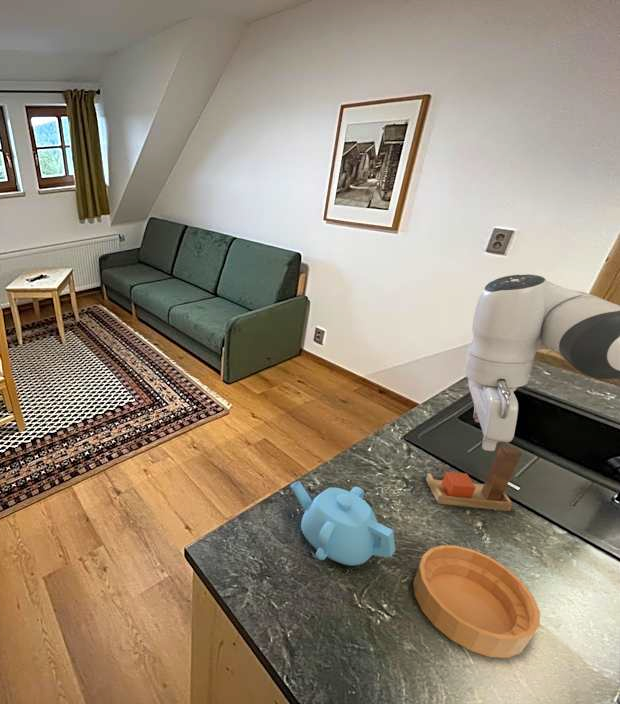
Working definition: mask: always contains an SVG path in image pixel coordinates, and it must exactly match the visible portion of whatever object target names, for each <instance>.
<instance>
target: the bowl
mask: <svg viewBox="0 0 620 704" xmlns="http://www.w3.org/2000/svg"><path fill="white" fill-rule="evenodd" d="M412 586H413V591H414V597H415V599H416V601H417V603H418V605H419V607H420V610H421V611H422V613H423V614H424V615H425V616H426V617H427V619H428V620H429V621H430V623H432V625H433V626H434V627H435V628H436V629H437V630H439V632H441V633H442V634H443V635H445V636H446V637H447V638H448V639H449V640H451V641H453V642H455V643H456V644H458V645H460V646H461V647H463V648H465V649H466V650H468V651H470V652H473V653H476V654H478V655H482V656H485V657H488V658H499V659H500V658H501V659H509V658H511V657H514V656H516V655H519V654H521V653H522V652H523V651H524V650H525V648H526V647H527V645H529V643H530V641H531V639H532V638H533V637H534V635H535V634H536V632H537V630H538V629H539V627H540V625H541V624H540V623H541V612H540V611H541V610H540V609H539V606H538V604H537V602H536V598H535V596H534V595H533V593H532V592H531V591H530V590H529V589H528V587H527V585H525V583H524V582H523V581H522V580H521V578H519V577H518V576H517V575H516V574H515V573H514V572H512V571H511V569H509V568H508V567H507V566H505V565H503V564H502V563H500V562H499V561H498V560H496V559H494V558H493V557H491V556H488V555H486V554H484V553H481V551H480V552H479V551H477V550H476V549H472V548H469V547H464V546H461V545H456V544H455V545H453V544H452V545H450V544H443V545H442V544H441V545H437V546H434V547H430V548H429V549H428V550H427V551H426V552H425V553H423V555H422V557H421V558H420V561H419V564H418V567H417V570H416V573H415V576H414V578H413V581H412Z"/></svg>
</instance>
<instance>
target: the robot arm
mask: <svg viewBox="0 0 620 704" xmlns="http://www.w3.org/2000/svg"><path fill="white" fill-rule="evenodd" d="M479 294H480V295H479V297H478V300H477V303H476V306H475V310H474V314H473V319H472V324H471V332H472V339H471V341H470V343H469V345H468V347H467V351H466V357H465V365H464V370H463V374H464V376H465V377H466V378H467V380H468V384H467V385H468V388H469V392H470V396H471V400H472V403H473V416H472V417H473V421H474V422H475V423H479V425H480V428H481V432H482V435H483V436H482V438H481V442H480V445H481V449H482V450H483V451H487V452H495V451H496V448H497V445H498V443H499V442H500V443H510V442H512V440H513V439H514V437H515V433H516V426H517V421H518V416H519V415H518V414H519V402H518V399H517V397H516V394H515V393H514V392H515V391H517V390H518V389H517V388H521V387H525V386H526V385H527V384H528V383H529V382H530V379H531V378H530V377H531V375H532V374H531V373H532V369H533V366H534V361H535V357H536V354H537V352H539V351H541V350H550V351H552V352H554V353H555V354H557V355H559V356H560V357H562V358H563V359H564V360H565V361H566V362H567V363H569V364H570V365H571V366H572V367H574V368H575V369H576V370H577V371H579V373H582V374H583V375H585V376H588V377H592V378H594V379H601V380H616V379H620V305H619V304H616V303H614V302H611V301H608V300H606V299H604V298H601V297H599V296H596V295H593V294H591V293H588V292H584V291H580V290H575V289H570V288H566V287H563V286H560V285H557V284H555V283H553V282H551V281H549V280H547V278H545V277H544V276H541V275H537V274H529V273H527V274H510V275H506V276H501V277H498V278H496V279H494V280H491V281H490V282H488V283H487V284H486V285H485V286H484V287H483V289H482V291H481V292H480V293H479Z"/></svg>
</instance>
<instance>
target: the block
mask: <svg viewBox="0 0 620 704" xmlns="http://www.w3.org/2000/svg"><path fill="white" fill-rule="evenodd" d="M442 480H443V481H442V484H441V486H442V487H443V489H444V491H445V493H446V495H447V496H454V497H464V498H472V496H473V493H474V491H475V488H476V487H475V485H474V484H473V483H474V481H473V480H472V479H471V478H470V476H469V474H468V473H467V472H466V473H465V472H455V471H445V472H444V476H443V479H442Z"/></svg>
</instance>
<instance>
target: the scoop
mask: <svg viewBox="0 0 620 704" xmlns="http://www.w3.org/2000/svg"><path fill="white" fill-rule="evenodd" d="M521 456H522V453H521V452H520V450H519V449H518V448H517V447H516V446H515V445H507V444H500V446H499V447H498V450H497V453H496V455H495V458H494V460H493V463H492V464H491V467H490V470H489V472H488V474H487V476H486V479H485V482H484V483H474V482H473V484H474V485H475V487H476V488H475V491H474V493H473V496H472V498H464V497H454V496H447V495H446V493H445V491H444V489H443V487H442V486H441V484H442V481H443V479H442V480H441V479H434V477H433V475H432V473H431V472H428V473H427V474H426V477H425V480H426V483H427V484H428V486H429V488H430V490H431V493H432V494H433V496H434V498H435V500H436V502H437V503H438V504H440V505H450V506H460V507H470V508H480V509H489V510H498V511H507V512H508V511H509V512H511V510H512V508H513V506H514V503H513V502H512V500H511V499H510V497H509V496H508V495H507V494H506V492H505V491H506V488H507V487H508V485H509V483H510V480H511V478H512V475H513V473H514V471H515V469H516V467H517V465H518V463H519V460H520V458H521Z"/></svg>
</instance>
